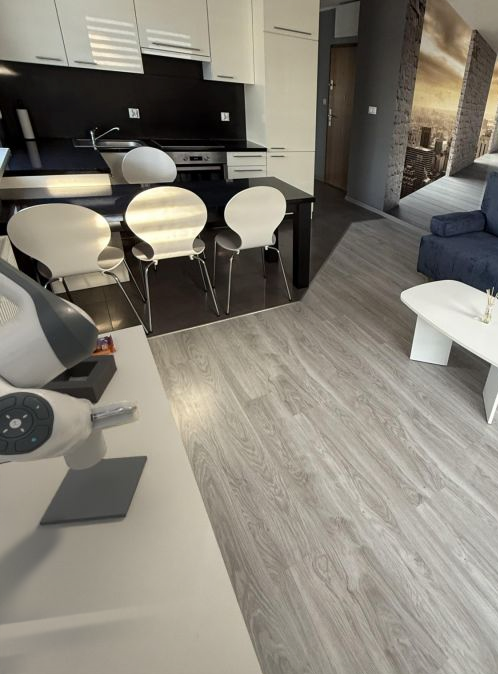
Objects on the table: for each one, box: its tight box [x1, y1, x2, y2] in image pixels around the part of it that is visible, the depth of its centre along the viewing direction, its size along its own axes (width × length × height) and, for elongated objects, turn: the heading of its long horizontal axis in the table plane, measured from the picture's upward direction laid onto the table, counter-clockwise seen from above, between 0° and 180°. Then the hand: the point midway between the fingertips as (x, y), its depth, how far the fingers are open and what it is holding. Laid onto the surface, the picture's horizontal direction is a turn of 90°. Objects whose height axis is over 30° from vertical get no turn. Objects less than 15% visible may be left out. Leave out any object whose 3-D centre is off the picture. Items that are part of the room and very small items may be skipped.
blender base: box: [40, 354, 118, 404], centre depth 100 cm, size 13×14×5 cm
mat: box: [39, 455, 148, 526], centre depth 77 cm, size 14×13×1 cm
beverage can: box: [63, 399, 108, 470], centre depth 71 cm, size 6×6×12 cm
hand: (78, 427), depth 71 cm, fingers closed on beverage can, 6 cm apart
